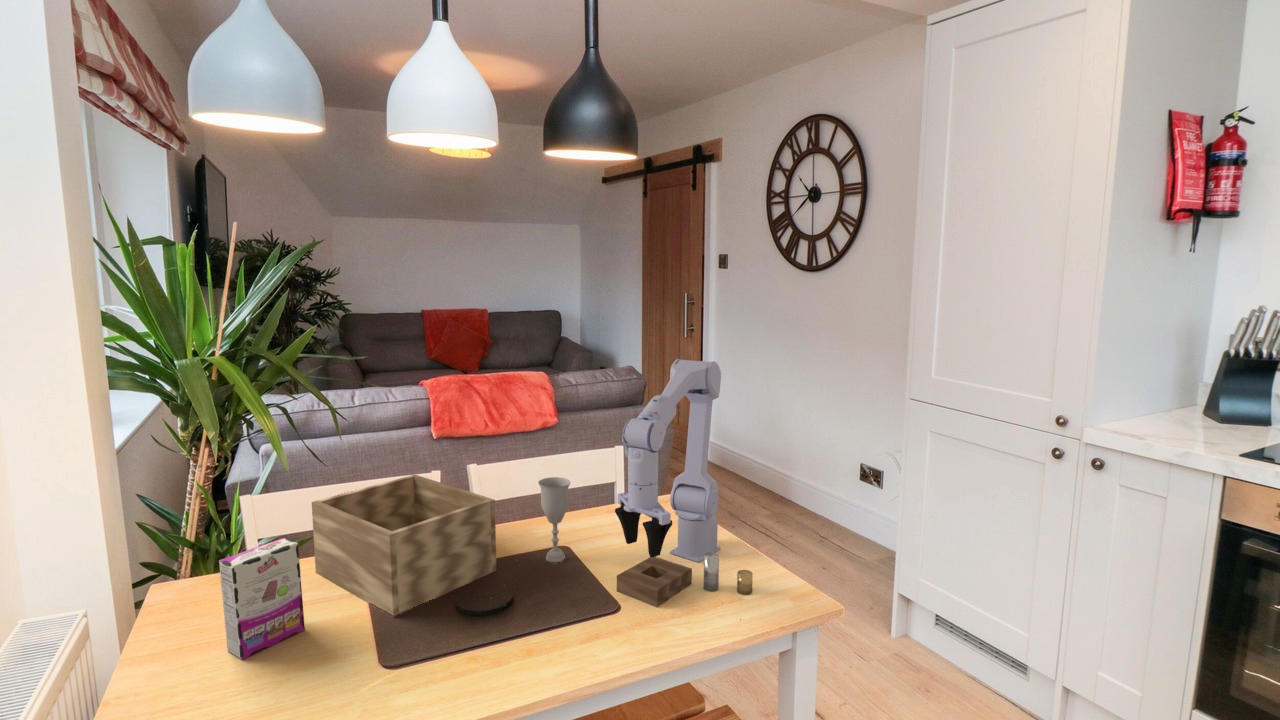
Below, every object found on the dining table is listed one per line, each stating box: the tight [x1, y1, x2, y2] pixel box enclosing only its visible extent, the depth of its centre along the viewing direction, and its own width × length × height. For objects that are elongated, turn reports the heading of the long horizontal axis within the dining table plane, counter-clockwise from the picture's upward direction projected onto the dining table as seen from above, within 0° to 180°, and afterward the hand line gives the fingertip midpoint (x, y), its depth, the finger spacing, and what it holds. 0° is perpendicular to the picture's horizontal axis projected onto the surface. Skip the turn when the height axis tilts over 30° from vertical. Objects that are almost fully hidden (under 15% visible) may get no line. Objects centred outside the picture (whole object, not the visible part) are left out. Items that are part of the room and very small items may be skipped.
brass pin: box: [736, 569, 754, 596], centre depth 134 cm, size 3×3×4 cm
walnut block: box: [616, 556, 693, 608], centre depth 135 cm, size 12×10×4 cm
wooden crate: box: [311, 474, 497, 615], centre depth 140 cm, size 24×28×16 cm
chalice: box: [537, 476, 572, 562], centre depth 147 cm, size 7×7×18 cm
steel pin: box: [703, 552, 720, 593], centre depth 135 cm, size 3×3×7 cm
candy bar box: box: [218, 537, 306, 660], centre depth 114 cm, size 11×5×16 cm, turn 148°
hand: (642, 549), depth 130 cm, fingers open, 7 cm apart
